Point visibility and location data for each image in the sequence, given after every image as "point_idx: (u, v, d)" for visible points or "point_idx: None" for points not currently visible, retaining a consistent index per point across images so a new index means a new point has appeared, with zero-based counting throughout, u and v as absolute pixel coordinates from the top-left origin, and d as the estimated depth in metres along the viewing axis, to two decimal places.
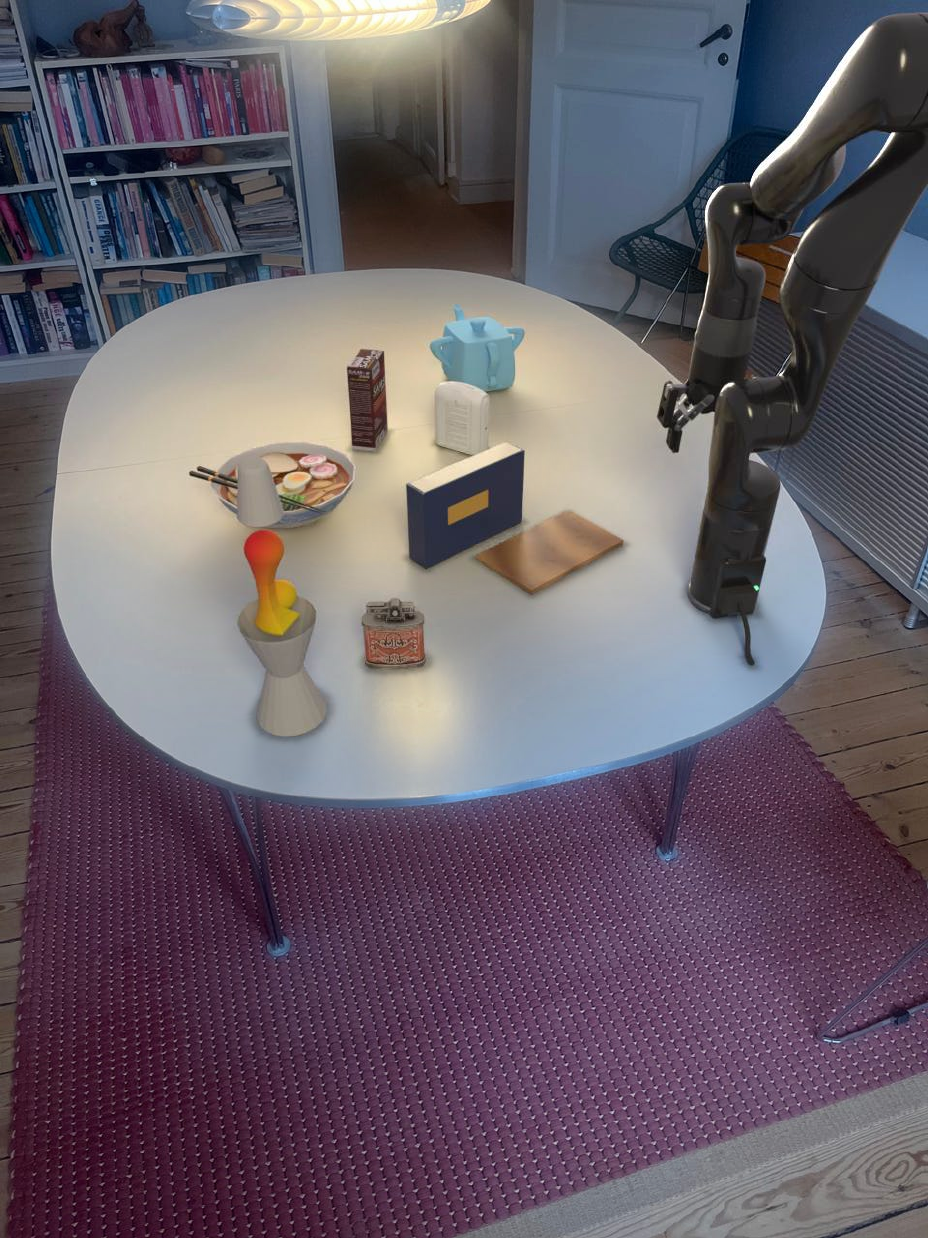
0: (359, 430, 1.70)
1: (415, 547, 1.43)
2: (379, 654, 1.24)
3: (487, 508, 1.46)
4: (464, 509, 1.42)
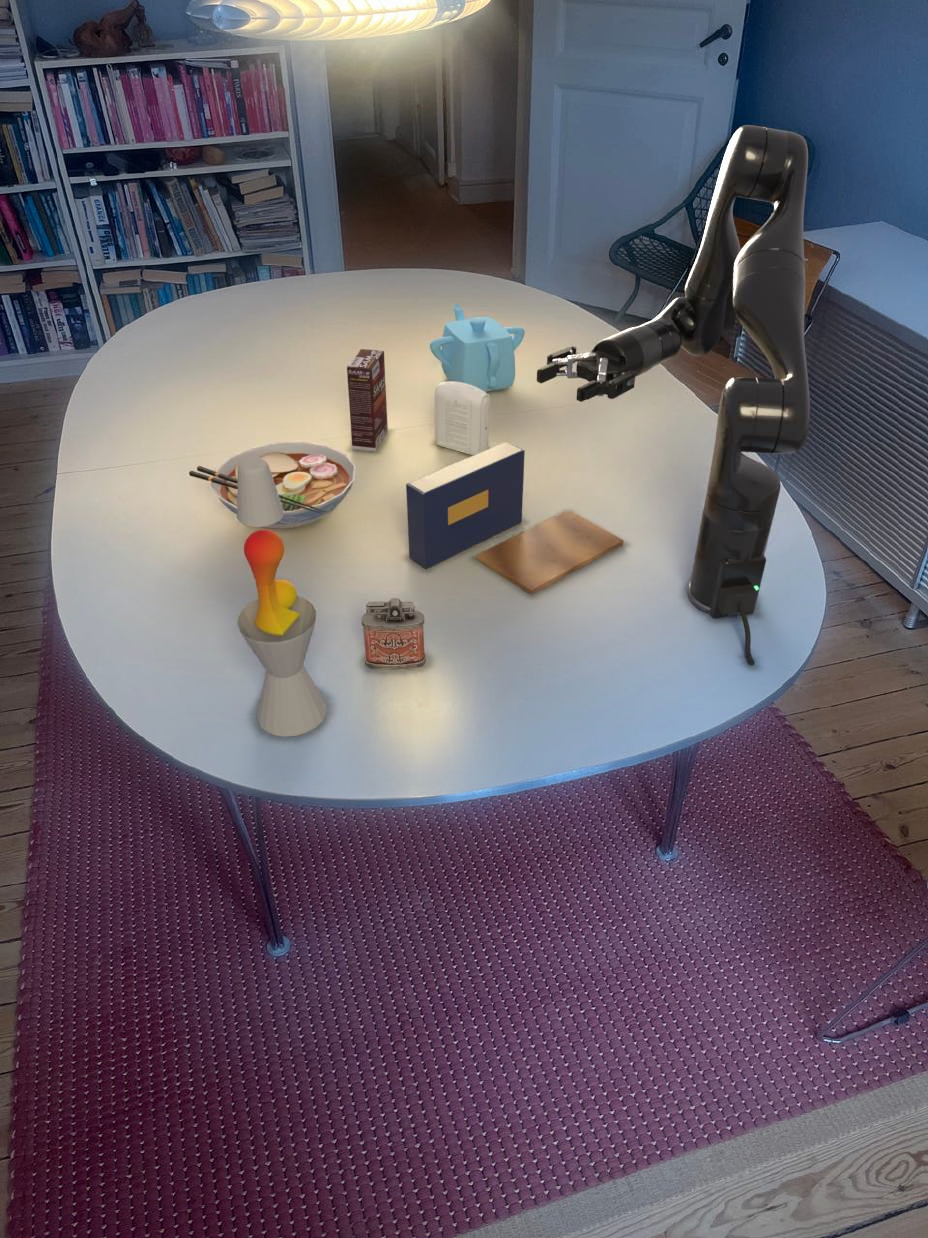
0: (359, 430, 1.70)
1: (415, 547, 1.43)
2: (379, 654, 1.24)
3: (487, 508, 1.46)
4: (464, 509, 1.42)
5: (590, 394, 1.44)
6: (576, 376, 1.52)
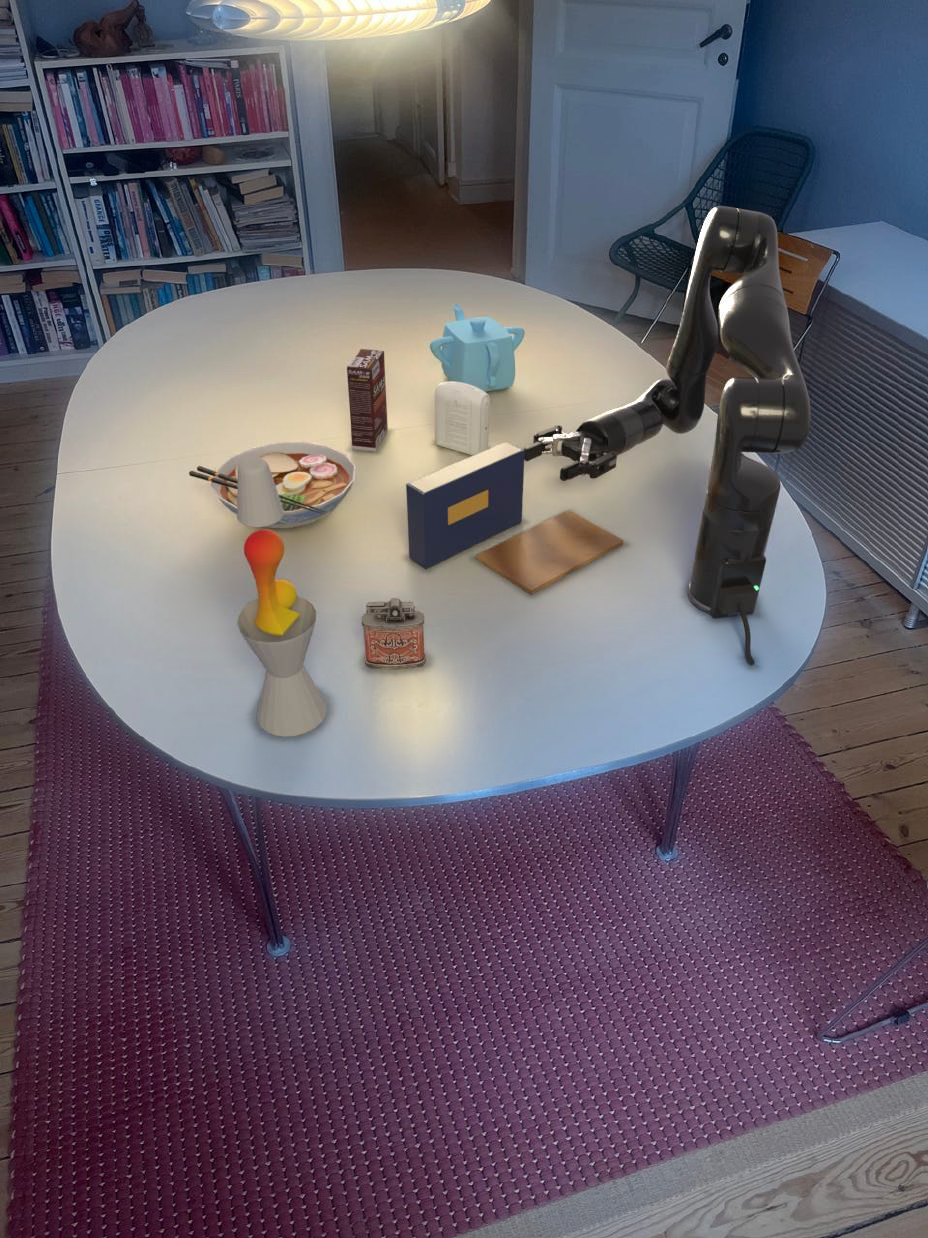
0: (359, 430, 1.70)
1: (415, 547, 1.43)
2: (379, 654, 1.24)
3: (487, 508, 1.46)
4: (464, 509, 1.42)
5: (573, 474, 1.51)
6: (561, 454, 1.59)
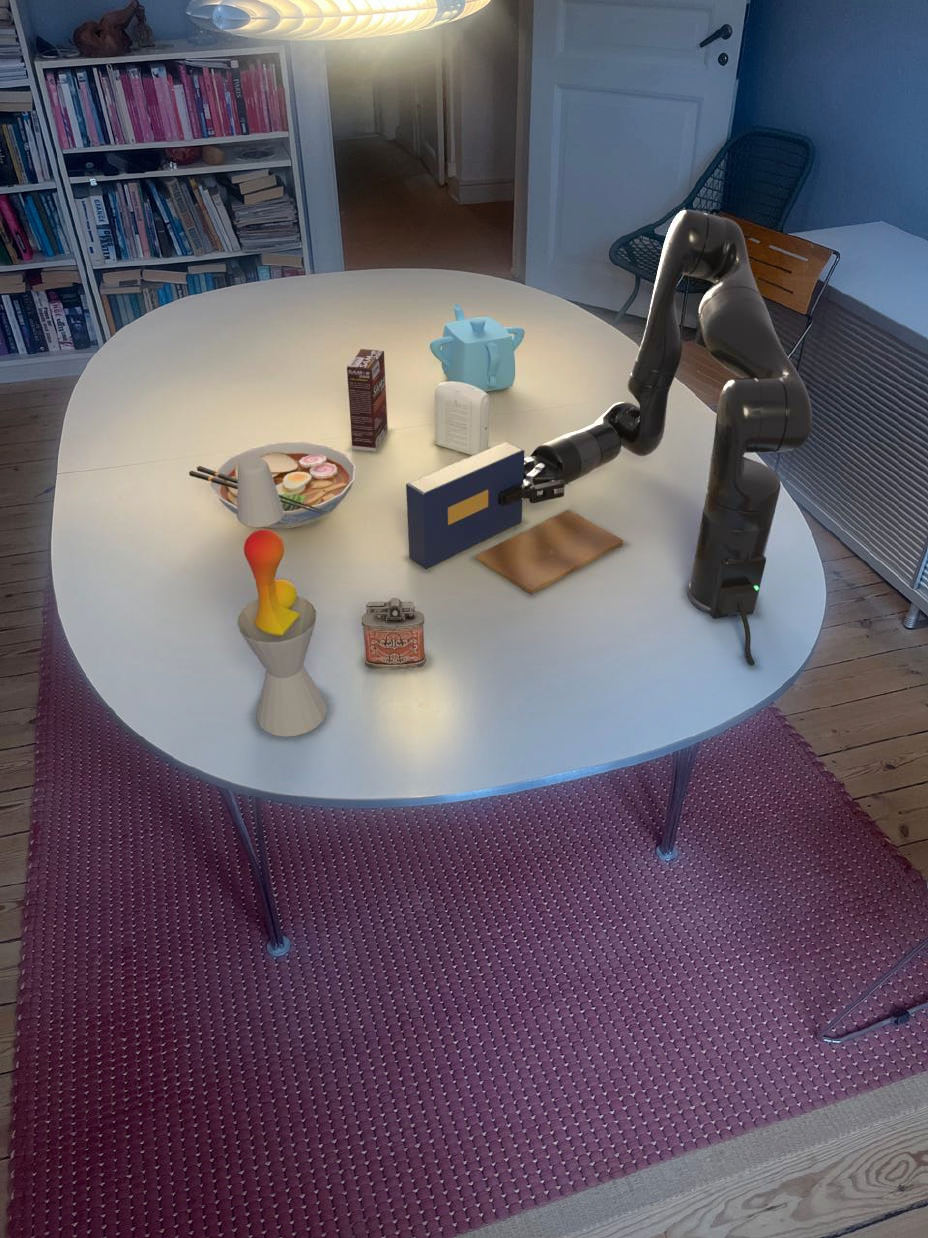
0: (359, 430, 1.70)
1: (415, 547, 1.43)
2: (379, 654, 1.24)
3: (487, 508, 1.46)
4: (463, 509, 1.42)
5: (511, 498, 1.47)
6: None
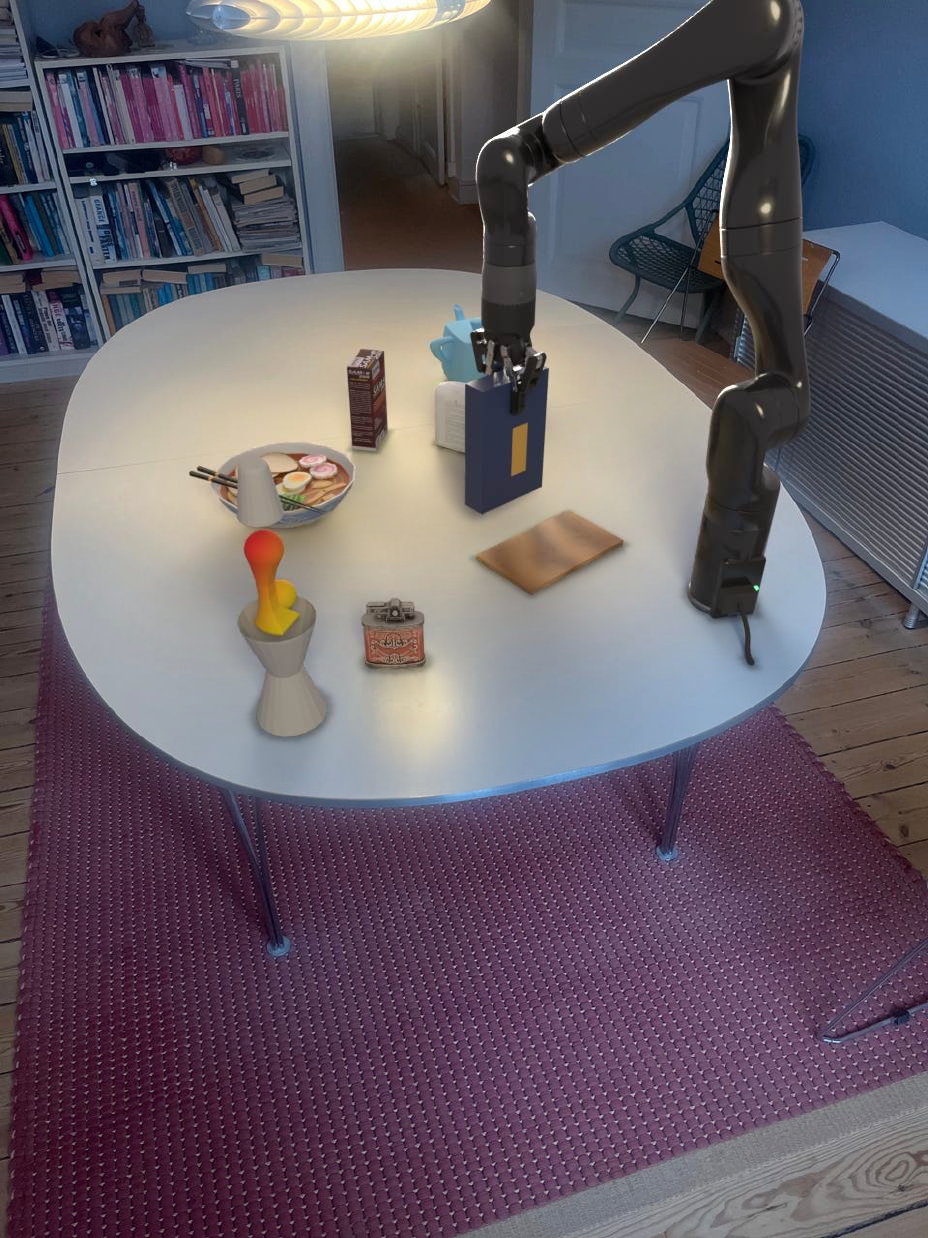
0: (359, 430, 1.70)
1: None
2: (379, 654, 1.24)
3: None
4: None
5: None
6: None
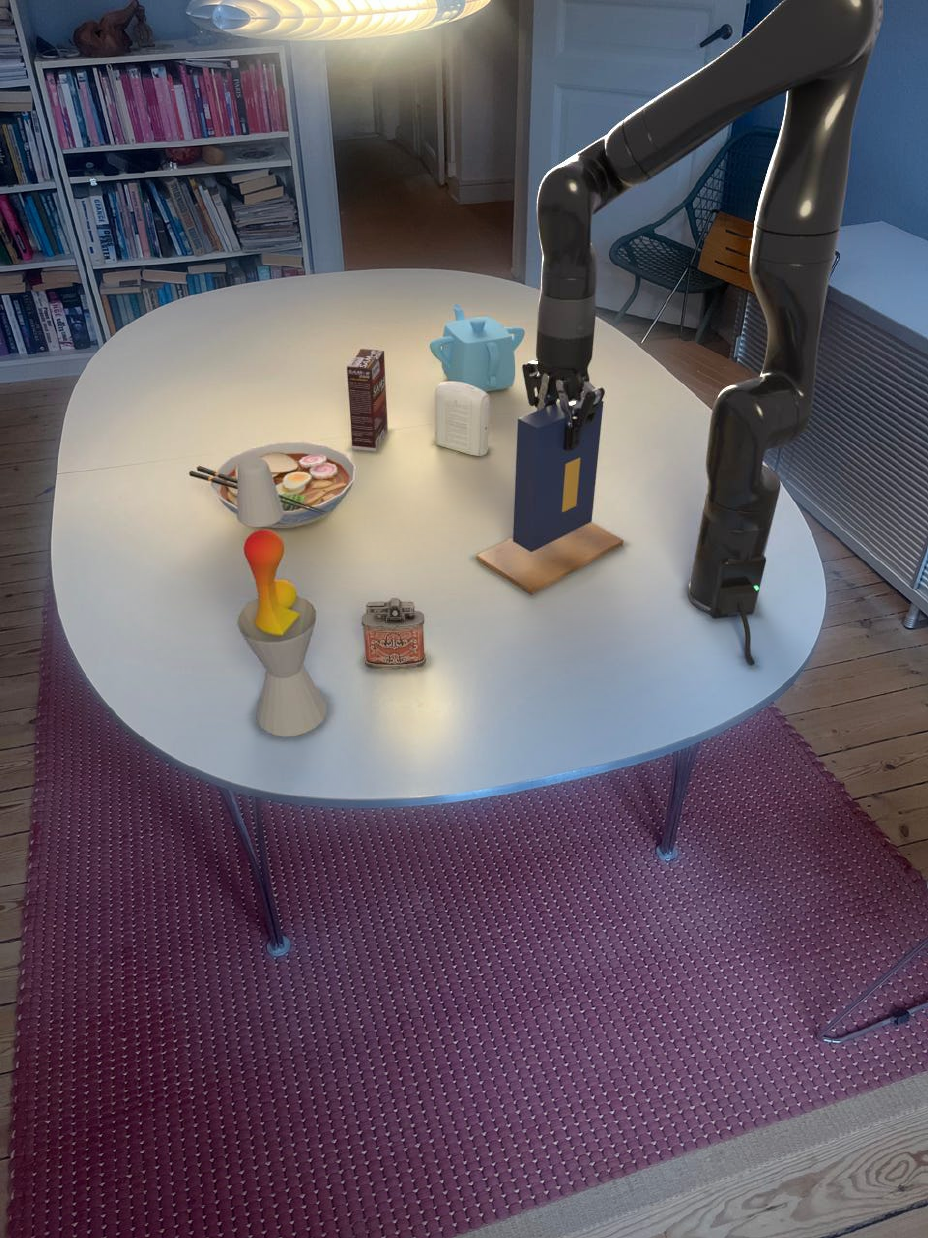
0: (359, 430, 1.70)
1: None
2: (379, 654, 1.24)
3: None
4: None
5: None
6: None
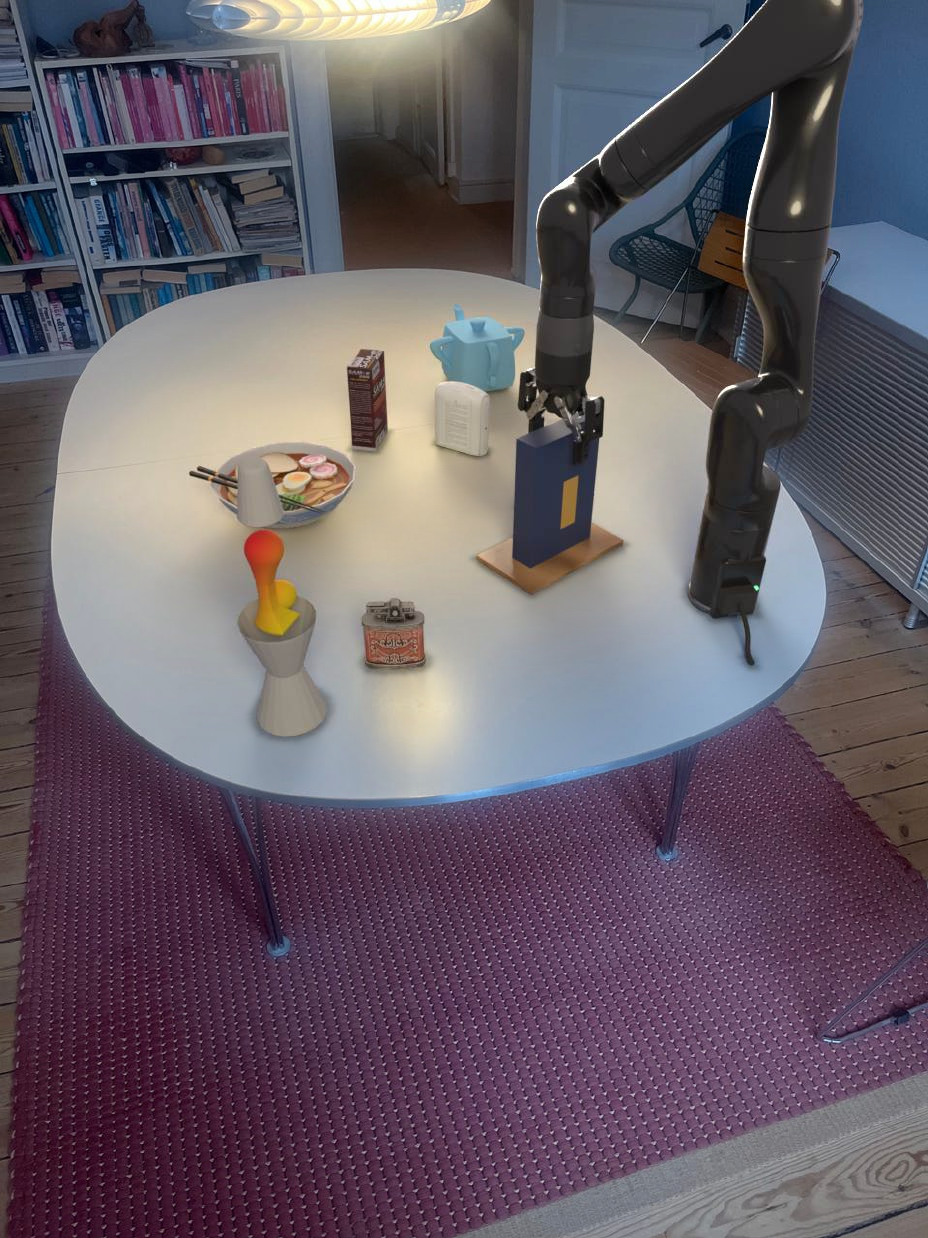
0: (359, 430, 1.70)
1: None
2: (379, 654, 1.24)
3: None
4: None
5: None
6: None
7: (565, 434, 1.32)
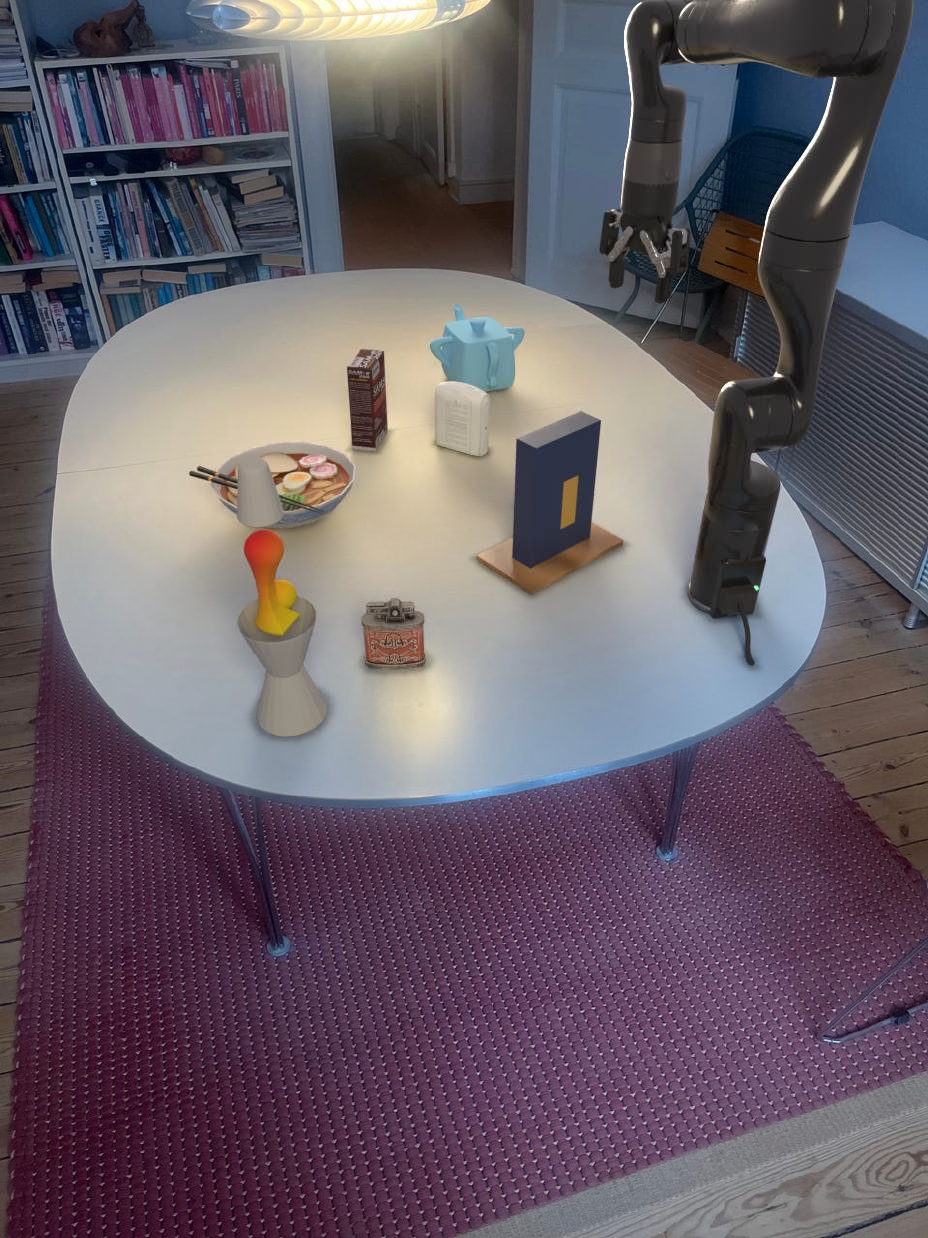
0: (359, 430, 1.70)
1: None
2: (379, 654, 1.24)
3: None
4: None
5: None
6: None
7: (565, 434, 1.32)
